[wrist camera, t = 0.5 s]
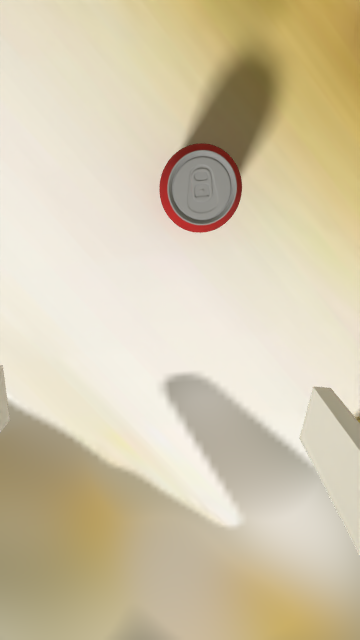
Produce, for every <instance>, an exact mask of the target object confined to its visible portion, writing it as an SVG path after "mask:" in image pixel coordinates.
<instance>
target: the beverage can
mask: <svg viewBox="0 0 360 640" xmlns="http://www.w3.org/2000/svg"><path fill="white" fill-rule="evenodd" d="M241 192H242V182H241V176H240V172H239V170H238V167H237V165H236V163H235V162H234V160H233V159H232V158H231V157H230V156H229V155H228V154H227V153H226V152H225V151H224V150H222V149H220V148H219V147H216V146H214V145H210V144H202V143H201V144H193V145H189V146H187V147H185V148H183V149H181V150H179V151H178V152H177V153H176V154H174V155H173V156H172V157H171V159H170V160H169V161H168V163H167V164H166V166H165V168H164V170H163V173H162V176H161V180H160V198H161V202H162V205H163V208H164V210H165V212H166V213H167V215H168V216H169V218H170V219H171V220H172V221H173V222H174V223H175V224H177V225H178V226H179V227H181V228H183V229H185V230H188V231H191V232H208V231H212V230H215V229H217V228H219V227H220V226H222V225H223V224H225V223H226V222H227V221H228V220H229V219H230V218H231V217H232V215H233V214H234V212H235V211H236V209H237V207H238V205H239V202H240V198H241Z"/></svg>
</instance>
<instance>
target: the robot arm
mask: <svg viewBox="0 0 360 640" xmlns="http://www.w3.org/2000/svg"><path fill="white" fill-rule="evenodd" d="M9 420H10V417H9V410H8V402H7V395H6V387H5V380H4V372H3V365H0V432H1V431H2V429H3V428H4V427H5V426H6V424H7V423H8V422H9ZM300 440H301V442H302V444H303V446H304V448H305V450H306V452H307V454H308V456H309V458H310V460H311V462H312V464H313V466H314V468H315V470H316V472H317V474H318V476H319V477H320V479H321V481H322V483H323V485H324V487H325V489H326V491H327V493H328V495H329V497H330V499H331V501H332V503H333V505H334V507H335V509H336V511H337V513H338V515H339V517H340V519H341V520H342V522H343V524H344V526H345V528H346V530H347V532H348V534H349V536H350V538H351V540H352V542H353V544H354V546H355V548H356V550H357V552H358V554H359V555H360V423H359V422H358V421H357V420H356V418H355V417H354V416H353V415H352V413H351V412H350V411H349V410H348V408H347V407H346V406H345V405H344V404H343V402H342V401H341V400H340V399H339V397H338V396H337V395H336V394H335V393H334V391H333V390H332V389H331V388H324V387H313V389H312V393H311V397H310V401H309V404H308V408H307V412H306V416H305V419H304V423H303V427H302V430H301V434H300Z"/></svg>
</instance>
